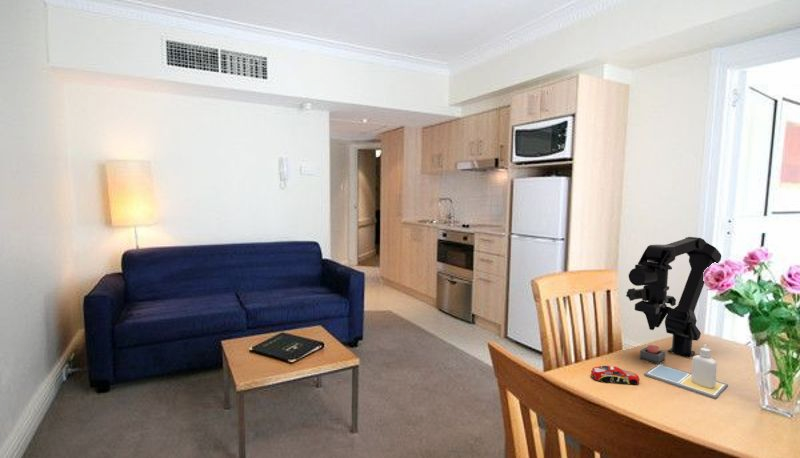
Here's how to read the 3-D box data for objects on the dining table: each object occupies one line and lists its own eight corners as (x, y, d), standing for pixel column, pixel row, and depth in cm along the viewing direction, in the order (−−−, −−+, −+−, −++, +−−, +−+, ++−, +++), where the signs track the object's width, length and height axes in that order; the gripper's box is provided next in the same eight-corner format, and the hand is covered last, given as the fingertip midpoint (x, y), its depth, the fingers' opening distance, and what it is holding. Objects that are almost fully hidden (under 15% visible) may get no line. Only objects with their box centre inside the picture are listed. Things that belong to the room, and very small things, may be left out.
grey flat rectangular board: (658, 365, 130) (658, 363, 130) (727, 386, 116) (728, 384, 116) (643, 375, 123) (643, 373, 123) (715, 399, 109) (715, 396, 109)
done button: (649, 349, 136) (649, 344, 136) (659, 352, 134) (660, 347, 134) (645, 352, 134) (645, 346, 134) (656, 355, 132) (656, 349, 132)
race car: (635, 378, 121) (636, 366, 121) (642, 387, 116) (643, 374, 116) (589, 374, 124) (590, 362, 124) (593, 382, 119) (594, 369, 119)
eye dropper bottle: (703, 379, 119) (706, 341, 117) (717, 389, 113) (720, 348, 112) (688, 379, 119) (691, 340, 118) (701, 388, 113) (704, 348, 112)
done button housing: (646, 355, 138) (646, 346, 138) (664, 360, 134) (665, 351, 134) (639, 359, 135) (640, 350, 135) (658, 364, 130) (658, 356, 130)
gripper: (642, 275, 144) (639, 317, 145) (619, 282, 133) (616, 327, 134) (677, 280, 135) (674, 325, 137) (656, 289, 124) (653, 337, 125)
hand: (654, 328), depth 133 cm, fingers open, 4 cm apart
